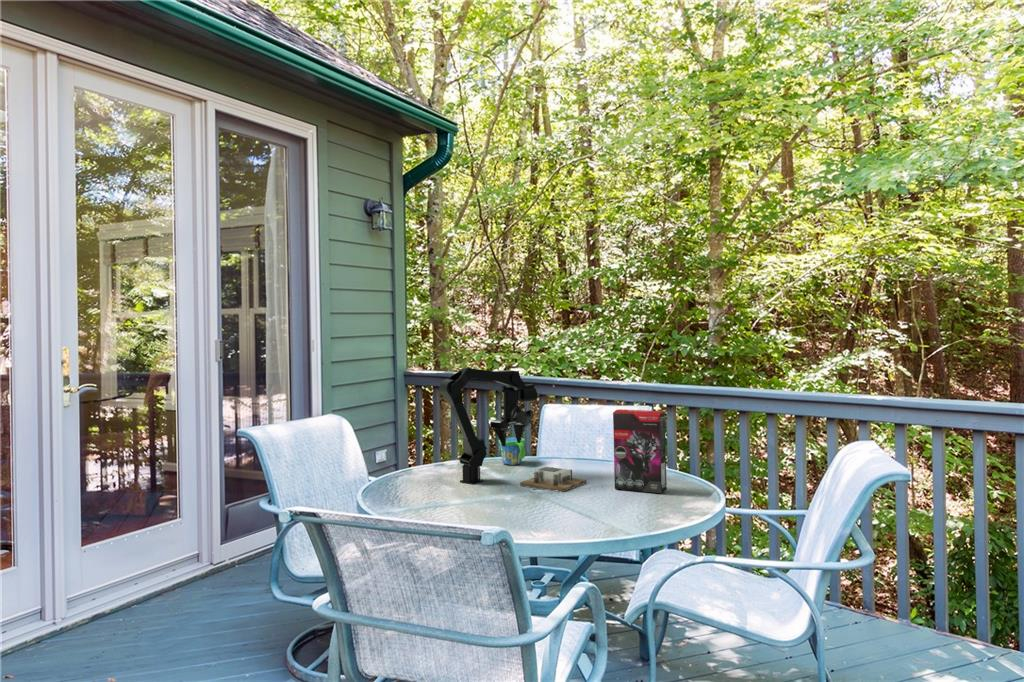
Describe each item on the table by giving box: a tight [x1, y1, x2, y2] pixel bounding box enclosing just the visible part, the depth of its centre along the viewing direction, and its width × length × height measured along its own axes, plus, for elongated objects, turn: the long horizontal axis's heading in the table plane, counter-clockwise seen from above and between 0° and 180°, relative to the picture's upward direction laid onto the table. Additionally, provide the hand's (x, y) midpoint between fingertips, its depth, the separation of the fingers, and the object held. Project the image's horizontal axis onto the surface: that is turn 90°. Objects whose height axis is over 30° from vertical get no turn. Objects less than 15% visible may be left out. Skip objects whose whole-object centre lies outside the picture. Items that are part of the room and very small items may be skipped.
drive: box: [534, 466, 572, 484], centre depth 256 cm, size 6×11×4 cm, turn 54°
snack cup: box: [498, 436, 526, 466], centre depth 294 cm, size 16×10×10 cm
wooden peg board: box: [519, 468, 588, 492], centre depth 256 cm, size 16×18×5 cm
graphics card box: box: [612, 409, 668, 494], centre depth 245 cm, size 17×7×27 cm, turn 62°
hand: (511, 444), depth 271 cm, fingers open, 9 cm apart
